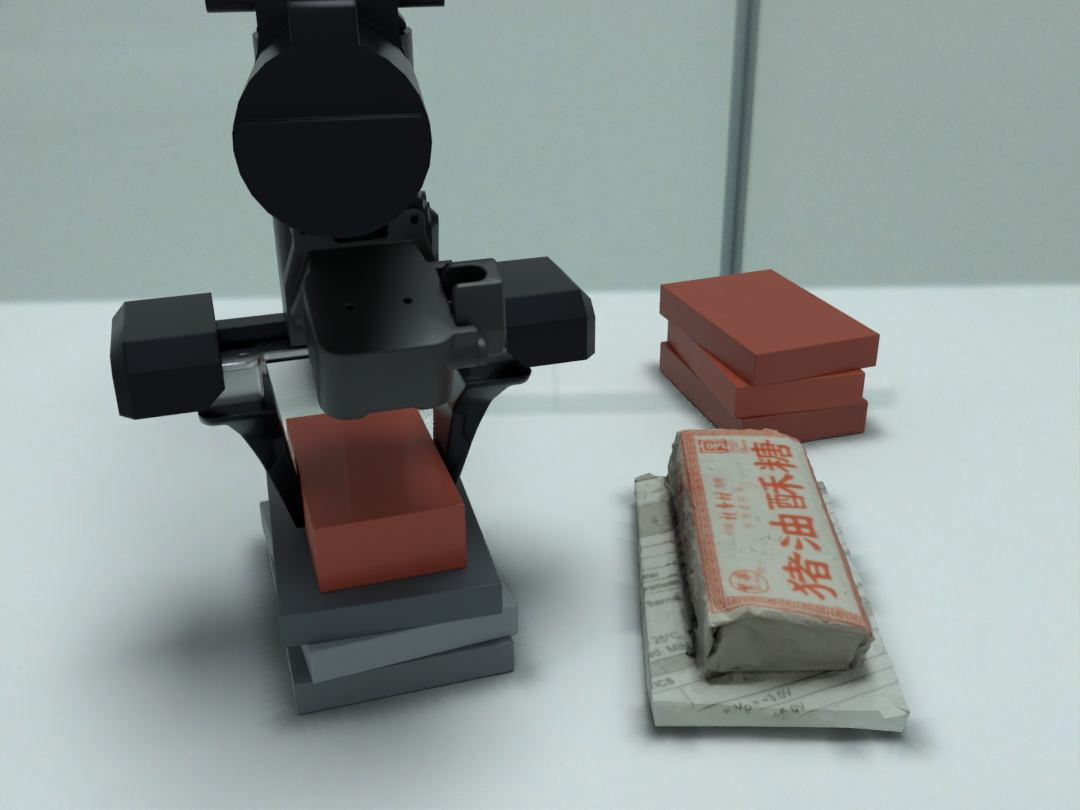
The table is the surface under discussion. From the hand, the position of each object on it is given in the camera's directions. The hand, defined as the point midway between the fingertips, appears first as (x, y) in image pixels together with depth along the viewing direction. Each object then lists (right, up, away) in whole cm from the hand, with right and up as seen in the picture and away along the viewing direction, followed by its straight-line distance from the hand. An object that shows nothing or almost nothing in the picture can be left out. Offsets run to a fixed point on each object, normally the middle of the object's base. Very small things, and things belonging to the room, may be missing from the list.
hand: (372, 511), depth 50 cm
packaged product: (+17, -4, +2) cm, 17 cm away
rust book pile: (+21, +5, +21) cm, 30 cm away
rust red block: (0, 0, 0) cm, 0 cm away
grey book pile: (0, -4, +2) cm, 5 cm away
